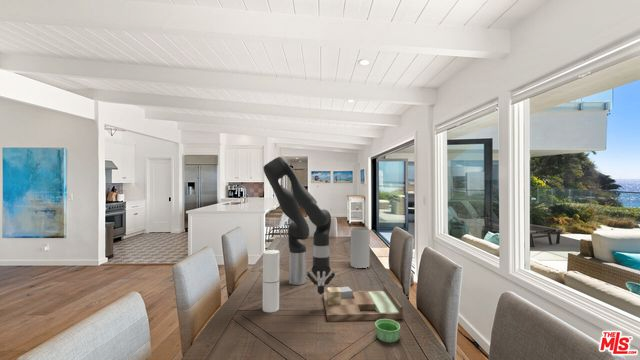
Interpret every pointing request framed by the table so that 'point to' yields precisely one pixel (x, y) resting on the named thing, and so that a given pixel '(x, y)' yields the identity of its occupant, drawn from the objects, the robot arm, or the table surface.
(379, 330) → the ramekin
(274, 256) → the cylindrical container
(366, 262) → the cylinder vase
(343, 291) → the trapped grey cube
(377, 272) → the table surface
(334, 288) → the maple cube
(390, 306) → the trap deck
